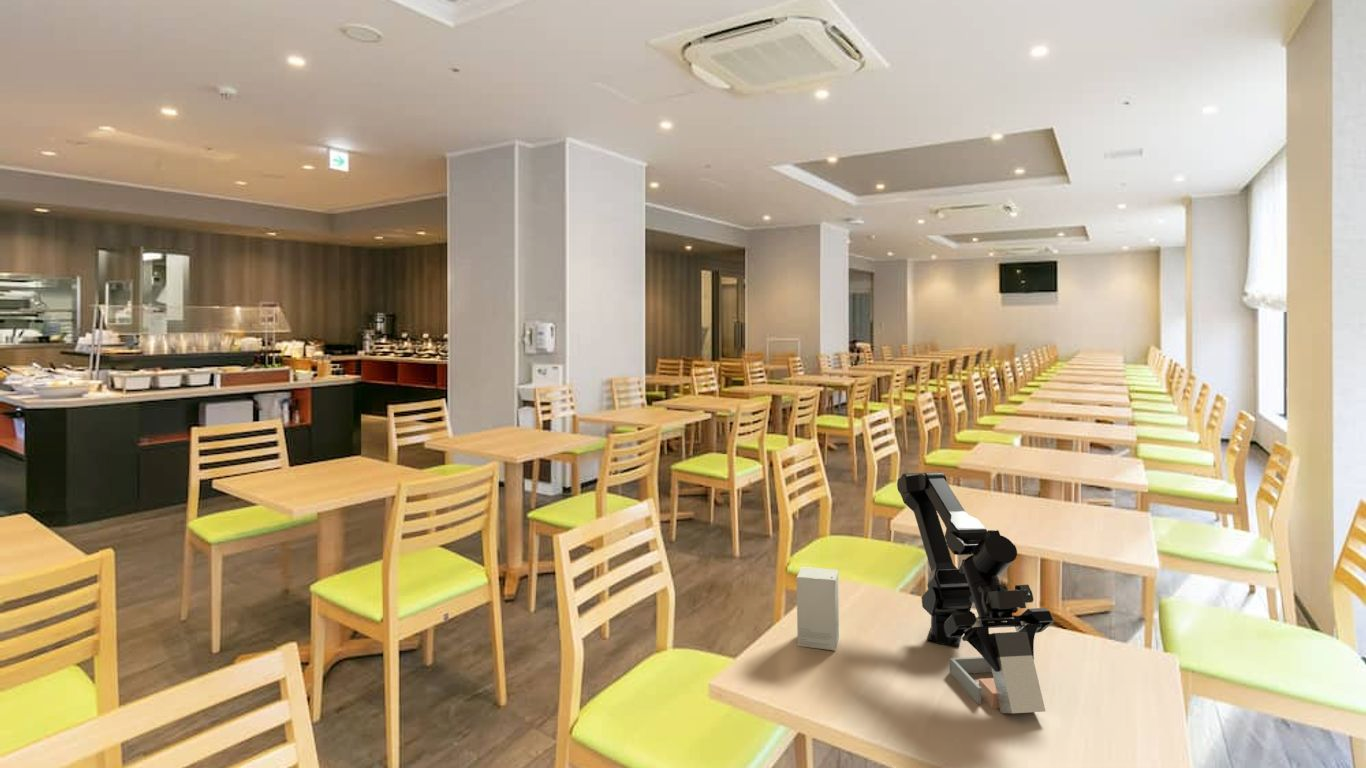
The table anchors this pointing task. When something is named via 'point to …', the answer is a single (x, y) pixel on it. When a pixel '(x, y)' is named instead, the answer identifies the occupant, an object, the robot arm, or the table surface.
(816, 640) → the skincare box
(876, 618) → the table surface
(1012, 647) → the gray capped pillar
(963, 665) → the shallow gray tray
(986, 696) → the tan block
